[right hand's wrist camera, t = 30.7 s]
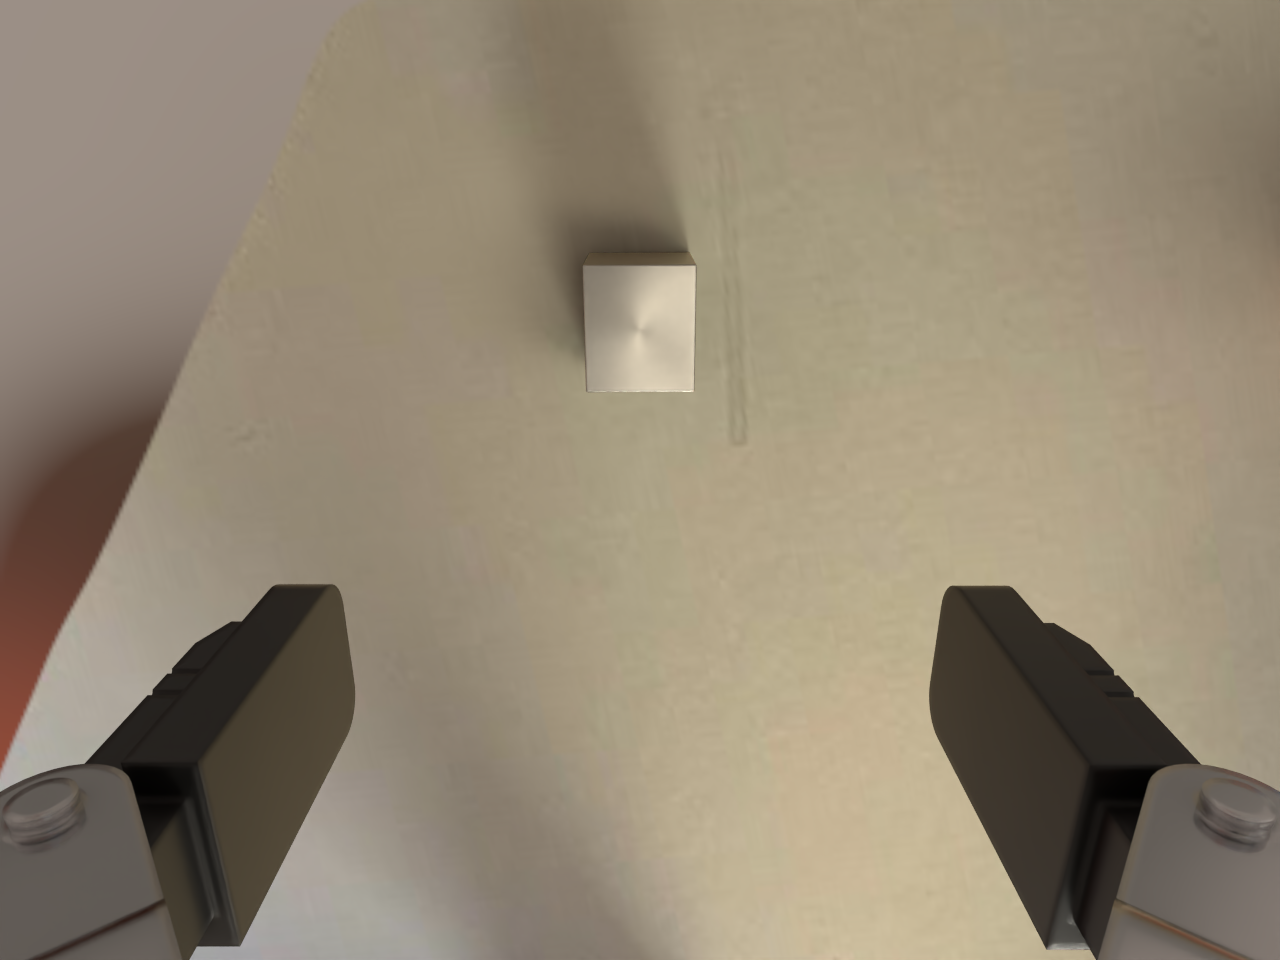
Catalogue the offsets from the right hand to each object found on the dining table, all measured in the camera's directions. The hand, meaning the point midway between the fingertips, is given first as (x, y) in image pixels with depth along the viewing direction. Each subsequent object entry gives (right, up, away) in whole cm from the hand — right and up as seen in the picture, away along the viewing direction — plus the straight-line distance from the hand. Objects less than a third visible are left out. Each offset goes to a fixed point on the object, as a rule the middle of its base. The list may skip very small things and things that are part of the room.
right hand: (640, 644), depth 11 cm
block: (0, +9, +24) cm, 26 cm away
